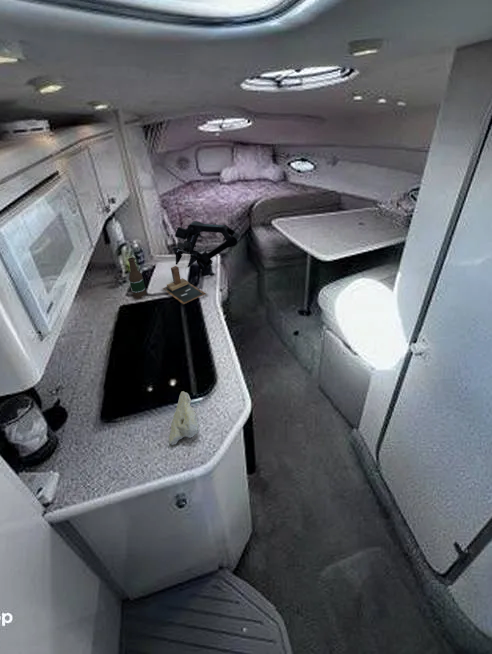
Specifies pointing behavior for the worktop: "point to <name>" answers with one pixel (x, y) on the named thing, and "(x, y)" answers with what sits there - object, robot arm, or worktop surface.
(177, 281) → the eraser
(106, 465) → the worktop surface
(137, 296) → the beer bottle
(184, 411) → the cream lumpy piece
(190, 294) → the chalkboard
